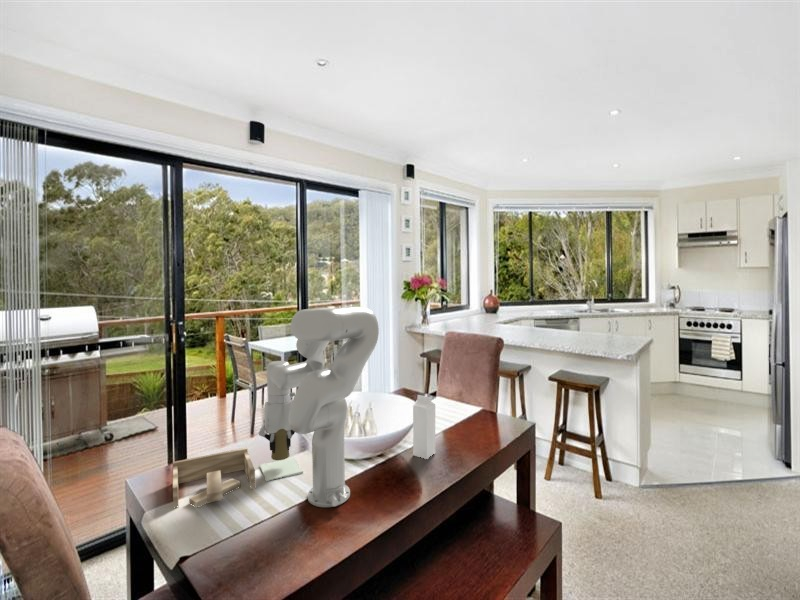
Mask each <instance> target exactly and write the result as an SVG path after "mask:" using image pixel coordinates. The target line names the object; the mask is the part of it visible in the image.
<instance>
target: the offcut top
mask: <svg viewBox="0 0 800 600" xmlns="http://www.w3.org/2000/svg"><path fill="white" fill-rule="evenodd" d="M222 483H223V482H222V474H221V471H220V470H219V471H214V472H209V473H207V478H206V490H207V504H208V503H213V502H217V501H222V500H224V495H223V496H222Z"/></svg>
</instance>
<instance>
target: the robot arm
mask: <svg viewBox="0 0 800 600" xmlns="http://www.w3.org/2000/svg"><path fill="white" fill-rule="evenodd" d="M379 329H380V328H379V322H378V319H377V316H376V315H375V313H374V312H373V310H371V309H369V308H367V307H364V306H346V307H337V308H336V307H335V308H330V307H316V308H306V309H300V310H298V311H296V313H295V314H294V315H293V317H292V319H291V321H290V331H291V333H292V335H293V337H294V338H296V339H297V341H296V343H295V344H296V345H295V348H296V350H297V351H298V354H300V355H301V356H302V357H304V358H306V360H305V361H302V362H296V363H292V364H290V363H289V362H288V361H287V360H274V361H270V362H269V363H268V364H267V366H266V381H267V387H266V388H267V401H266V402H265V403H264V407H263V420H262V421H263V424H262V426H261V427H260V429H259V431H258V432H257V433H258V435H259V437H263V438H265V439H266V440H267V441H269V450H270V451H271V453H272V452H273V453H275V441H274V435H275V434H274V433H276V432H277V431H278V430H280V429H285V430H286V431H287V434H286V436H287V448H288V450H289V451H290V447H291V446H292V445H291V444H292V443H291V441H292V440H291V439H292V437H293V436H294V435H295V434H299V435H307V434H308V435H309V434H311V433H312V434H313V435H312V439H311V458H312V459H311V460H312V461H311V463H312V465H311V466H312V467H311V468H312V488H310V490H308V492H307V499H308V500H307V501H308V502H309V504H311V505H313V506H315V507H319V508H333V507H338V506H340V505H342V504H343V503H345V502H347V501H348V499H349V498H350V496H351V489H350V487H349V486H348V485H347V484H346V482H345V481H346V476H345V475H346V474H345V472H346V470H345V467H346V466H345V430H346V429H345V426H346V421H347V416H348V403H347V402H348V401H347V400H346V398H347V397H349V396H350V395H351V394H352V393H353V391H354V389H355V387H356V384H357V383H358V380H359V379H360V376H361V375H362V372H363V370H364V368H365V366H366V364H367V363H368V361H369V359H370V357H371V355H372V354H373V353H374V350H375V348H376V347H377V344H378V341H379V334H380V333H379V331H380V330H379ZM341 340H346V341H345V343H343V345H342V346H340V348H339V349H338V350H337V353H336V354H335V356H334V358H333V361H332V362H331V364H330V365H329V366H327V367H326V368H325V363H326V360H325V359H326V358H325V354H324V351H326V348H327V346H328V345H329V343H330V342H335V341H341ZM295 388H297V390H296V391H295V392H291V389H295ZM292 398H293V399H292Z"/></svg>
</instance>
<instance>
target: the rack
mask: <svg viewBox="0 0 800 600" xmlns="http://www.w3.org/2000/svg"><path fill="white" fill-rule="evenodd" d="M249 454H250V453H249V451H248V447H247V446H246V447H242V448H238V449H237V448H236V449H231V450H227V451H222V452H221V451H220V452H217V453H212V454H206V455H202V456H201V455H200V456H196V457H192V458H191V457H190V458H186V459H182V460H181V459H180V460H176V461H173V462H172V466H173V467H172V469H173V470H172V501H173V508H174V507H177V506H178V507H179V484H182V483H183V484H184V483H188V482H192V481H196V480H201V479H207V473H209V472H214V471H219V470H220V471H221V475H225V474H229V473H233V472H238V471H242V470H244V472H245V476H246V479H247V481H248V483H249V487H250V486H251V487H250V490H254V489H253V488H255V489H256V470H255V466H254V465H253V462H252V460H251V457H250V455H249Z"/></svg>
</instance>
